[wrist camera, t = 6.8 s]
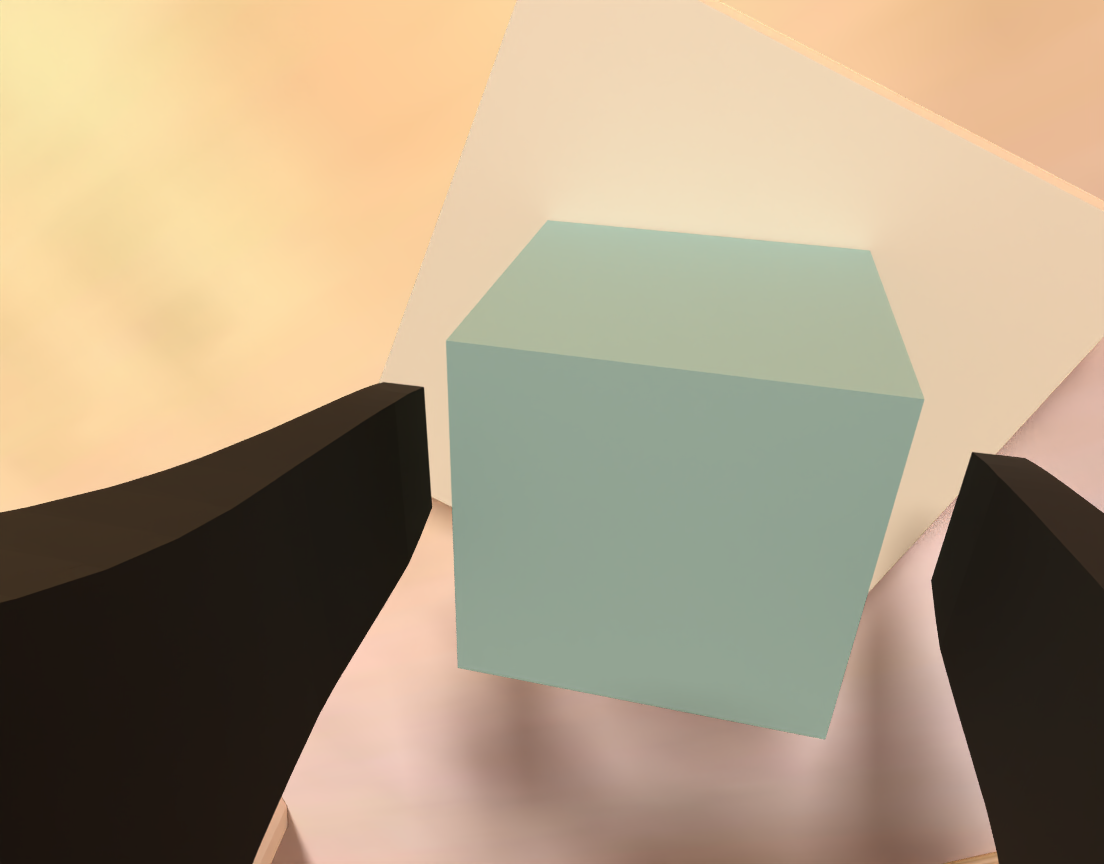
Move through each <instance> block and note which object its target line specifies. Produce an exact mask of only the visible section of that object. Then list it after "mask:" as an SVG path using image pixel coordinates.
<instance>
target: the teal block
mask: <svg viewBox="0 0 1104 864" xmlns="http://www.w3.org/2000/svg"><path fill="white" fill-rule="evenodd" d="M446 356H447V384H448V411H449V439H450V466H451V494H452V521H453V549H454V576H455V604H456V631H457V659H458V668H461V669H466V670H472V671H477V672H482V673H487V674H492V675H497V676H502V677H507V678H513V679H518V680H523V681H528V682H533V683H538V684H543V685H548V686H554V687H559V688H564V689H569V690H574V691H579V692H584V693H589V694H594V695H600V696H605V697H610V698H615V699H620V700H625V701H630V702H635V703H641V704H646V705H651V706H656V707H661V708H666V709H671V710H676V711H682V712H687V713H692V714H697V715H702V716H707V717H712V718H717V719H722V720H728V721H733V722H738V723H743V724H748V725H753V726H758V727H763V728H769V729H774V730H779V731H784V732H789V733H794V734H799V735H804V736H810V737H815V738H820V739H826V735H827V732H828V728H829V725H830V721H831V718H832V715H833V711H834V708H835V704H836V701H837V697H838V694H839V691H840V687H841V684H842V680H843V677H844V673H845V670H846V667H847V663H848V660H849V656H850V653H851V650H852V646H853V643H854V639H855V636H856V632H857V629H858V626H859V622H860V619H861V615H862V612H863V608H864V605H865V602H866V598H867V595H868V591H869V588H870V584H871V581H872V578H873V574H874V571H875V567H876V564H877V561H878V557H879V554H880V550H881V547H882V543H883V540H884V537H885V533H886V530H887V526H888V523H889V519H890V516H891V513H892V509H893V506H894V502H895V499H896V495H897V492H898V489H899V485H900V482H901V478H902V475H903V471H904V468H905V465H906V461H907V458H908V454H909V451H910V448H911V444H912V441H913V437H914V434H915V430H916V427H917V424H918V420H919V417H920V413H921V410H922V406H923V403H924V400H925V399H924V396H923V394H922V391H921V388H920V385H919V383H918V380H917V377H916V374H915V372H914V369H913V366H912V364H911V361H910V358H909V355H908V353H907V350H906V347H905V344H904V342H903V339H902V336H901V334H900V331H899V328H898V325H897V323H896V320H895V317H894V314H893V312H892V309H891V306H890V304H889V301H888V298H887V295H886V293H885V290H884V287H883V284H882V282H881V279H880V276H879V274H878V271H877V268H876V265H875V263H874V260H873V257H872V254H871V252H870V250H859V249H849V248H838V247H827V246H817V245H806V244H795V243H785V242H774V241H764V240H753V239H742V238H732V237H721V236H710V235H700V234H689V233H678V232H668V231H657V230H646V229H636V228H625V227H614V226H604V225H593V224H582V223H572V222H561V221H550V220H547V222H546V223H545V224H544V225H543V226H542V227H541V229H540V230H539V231H538V232H537V233H536V235H535V236H534V237H533V238H532V239H531V240H530V242H529V243H528V244H527V245H526V246H525V248H524V249H523V250H522V251H521V252H520V253H519V255H518V256H517V257H516V258H515V259H514V261H513V262H512V263H511V264H510V265H509V266H508V268H507V269H506V270H505V271H504V272H503V274H502V275H501V276H500V277H499V278H498V279H497V281H496V282H495V283H494V284H493V285H492V287H491V288H490V289H489V290H488V291H487V293H486V294H485V295H484V296H483V297H482V298H481V300H480V301H479V302H478V303H477V304H476V306H475V307H474V308H473V309H472V310H471V311H470V313H469V314H468V315H467V316H466V317H465V319H464V320H463V321H462V322H461V323H460V324H459V326H458V327H457V328H456V329H455V330H454V332H453V333H452V334H451V335H450V336H449V337H448V339H447V340H446Z"/></svg>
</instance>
